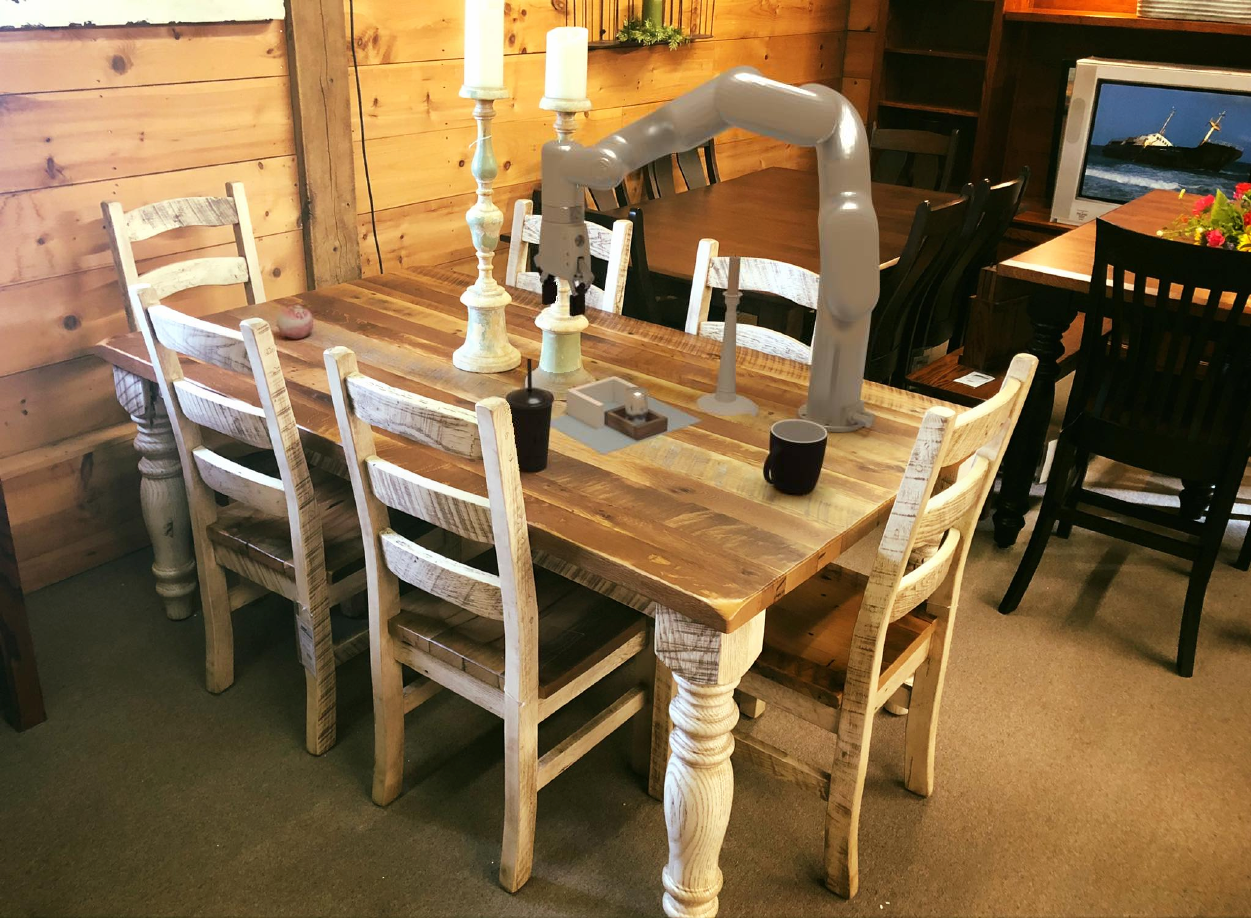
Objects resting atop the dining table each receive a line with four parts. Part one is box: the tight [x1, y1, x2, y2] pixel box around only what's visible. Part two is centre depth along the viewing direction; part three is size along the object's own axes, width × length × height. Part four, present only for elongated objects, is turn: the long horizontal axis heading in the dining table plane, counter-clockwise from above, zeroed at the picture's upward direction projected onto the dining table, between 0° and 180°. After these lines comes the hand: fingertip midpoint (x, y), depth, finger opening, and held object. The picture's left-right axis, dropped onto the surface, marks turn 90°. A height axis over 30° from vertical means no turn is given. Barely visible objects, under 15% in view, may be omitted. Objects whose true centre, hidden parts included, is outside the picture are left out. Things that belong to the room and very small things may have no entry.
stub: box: [625, 386, 649, 425], centre depth 186 cm, size 4×4×7 cm
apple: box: [276, 304, 314, 341], centre depth 229 cm, size 8×8×7 cm
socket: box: [604, 405, 668, 441], centre depth 187 cm, size 9×7×2 cm
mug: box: [762, 418, 828, 497], centre depth 168 cm, size 12×9×10 cm
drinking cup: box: [505, 358, 555, 474], centre depth 169 cm, size 8×8×20 cm
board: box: [550, 395, 702, 455], centre depth 190 cm, size 17×23×2 cm
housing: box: [565, 375, 639, 429], centre depth 193 cm, size 12×11×4 cm
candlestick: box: [696, 253, 760, 418], centre depth 192 cm, size 13×13×30 cm
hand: (563, 308), depth 194 cm, fingers open, 7 cm apart
